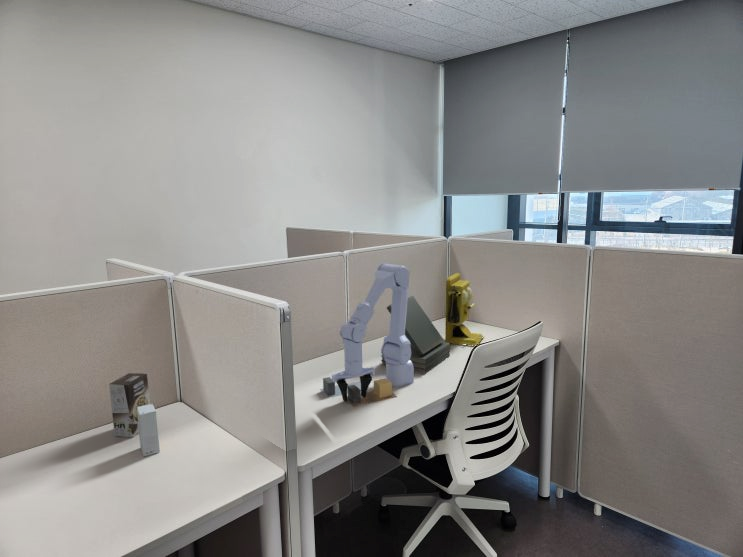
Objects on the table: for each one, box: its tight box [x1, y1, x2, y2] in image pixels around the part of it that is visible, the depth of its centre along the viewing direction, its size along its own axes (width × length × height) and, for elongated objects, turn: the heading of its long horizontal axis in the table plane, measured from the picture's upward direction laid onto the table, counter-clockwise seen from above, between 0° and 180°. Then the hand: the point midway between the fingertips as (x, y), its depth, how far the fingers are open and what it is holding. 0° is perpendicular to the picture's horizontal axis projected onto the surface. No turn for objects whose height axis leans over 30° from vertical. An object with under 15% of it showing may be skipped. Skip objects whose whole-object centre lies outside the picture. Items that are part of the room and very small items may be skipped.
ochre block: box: [373, 377, 393, 398], centre depth 165 cm, size 4×4×4 cm
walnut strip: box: [346, 385, 398, 407], centre depth 163 cm, size 16×8×5 cm, turn 116°
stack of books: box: [380, 295, 451, 375], centre depth 198 cm, size 23×20×25 cm
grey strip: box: [319, 376, 372, 399], centre depth 170 cm, size 16×8×5 cm, turn 116°
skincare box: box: [137, 403, 161, 457], centre depth 133 cm, size 6×4×12 cm
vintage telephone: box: [444, 272, 484, 348], centre depth 222 cm, size 31×14×30 cm, turn 155°
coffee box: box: [108, 372, 151, 438], centre depth 144 cm, size 9×6×16 cm
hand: (354, 398), depth 161 cm, fingers open, 6 cm apart
